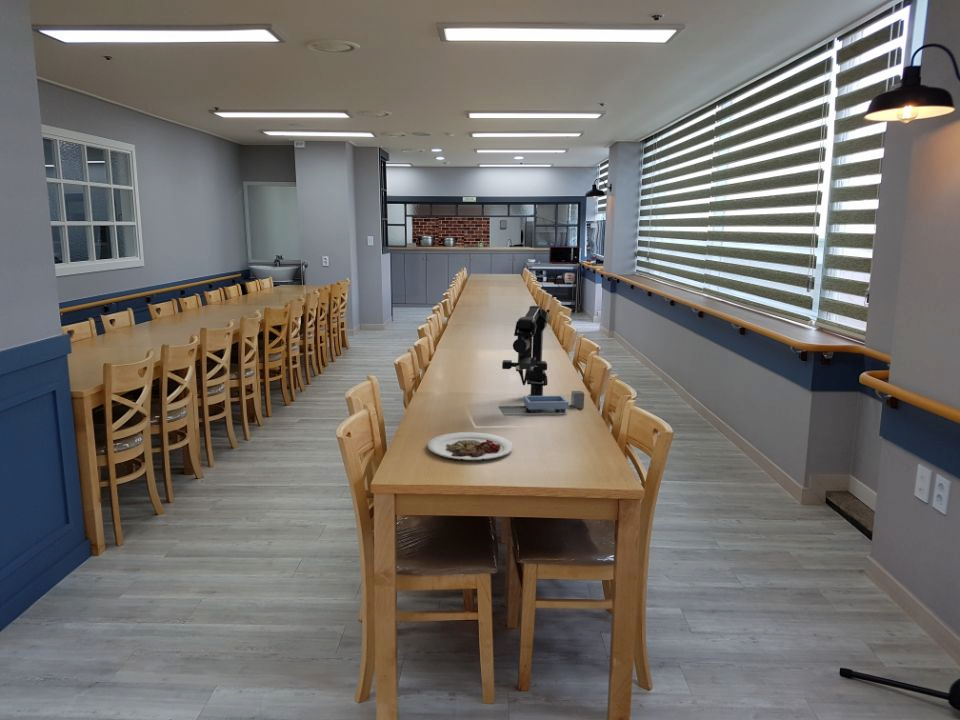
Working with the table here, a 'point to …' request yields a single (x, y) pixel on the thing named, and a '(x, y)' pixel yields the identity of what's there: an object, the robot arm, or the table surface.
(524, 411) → the track
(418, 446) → the table surface
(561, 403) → the cart
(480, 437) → the plated food
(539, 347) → the robot arm
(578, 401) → the steel block
